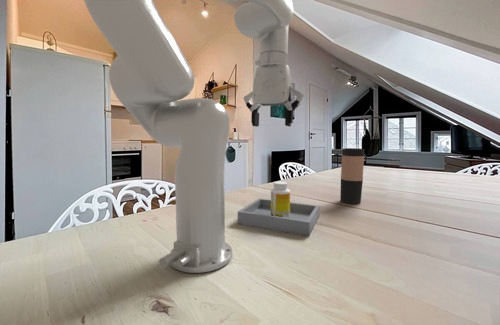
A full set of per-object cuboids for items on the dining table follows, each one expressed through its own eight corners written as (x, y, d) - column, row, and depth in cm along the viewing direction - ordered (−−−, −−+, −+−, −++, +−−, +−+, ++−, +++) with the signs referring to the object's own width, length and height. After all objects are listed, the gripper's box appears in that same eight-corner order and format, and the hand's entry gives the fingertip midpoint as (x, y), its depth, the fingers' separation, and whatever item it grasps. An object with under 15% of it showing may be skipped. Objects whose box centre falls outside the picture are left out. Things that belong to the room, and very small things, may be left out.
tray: (309, 236, 61) (309, 222, 60) (237, 223, 69) (237, 211, 69) (319, 216, 75) (319, 205, 75) (259, 208, 84) (259, 198, 83)
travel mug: (335, 199, 95) (337, 148, 93) (351, 198, 98) (354, 148, 95) (348, 205, 88) (351, 149, 86) (366, 203, 90) (369, 149, 88)
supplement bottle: (293, 217, 72) (294, 182, 71) (280, 221, 68) (281, 185, 67) (279, 212, 76) (280, 180, 75) (266, 216, 72) (267, 182, 71)
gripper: (238, 62, 67) (237, 125, 69) (301, 54, 60) (298, 125, 61) (250, 70, 74) (249, 127, 75) (308, 63, 66) (305, 126, 68)
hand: (271, 126), depth 68 cm, fingers open, 9 cm apart
